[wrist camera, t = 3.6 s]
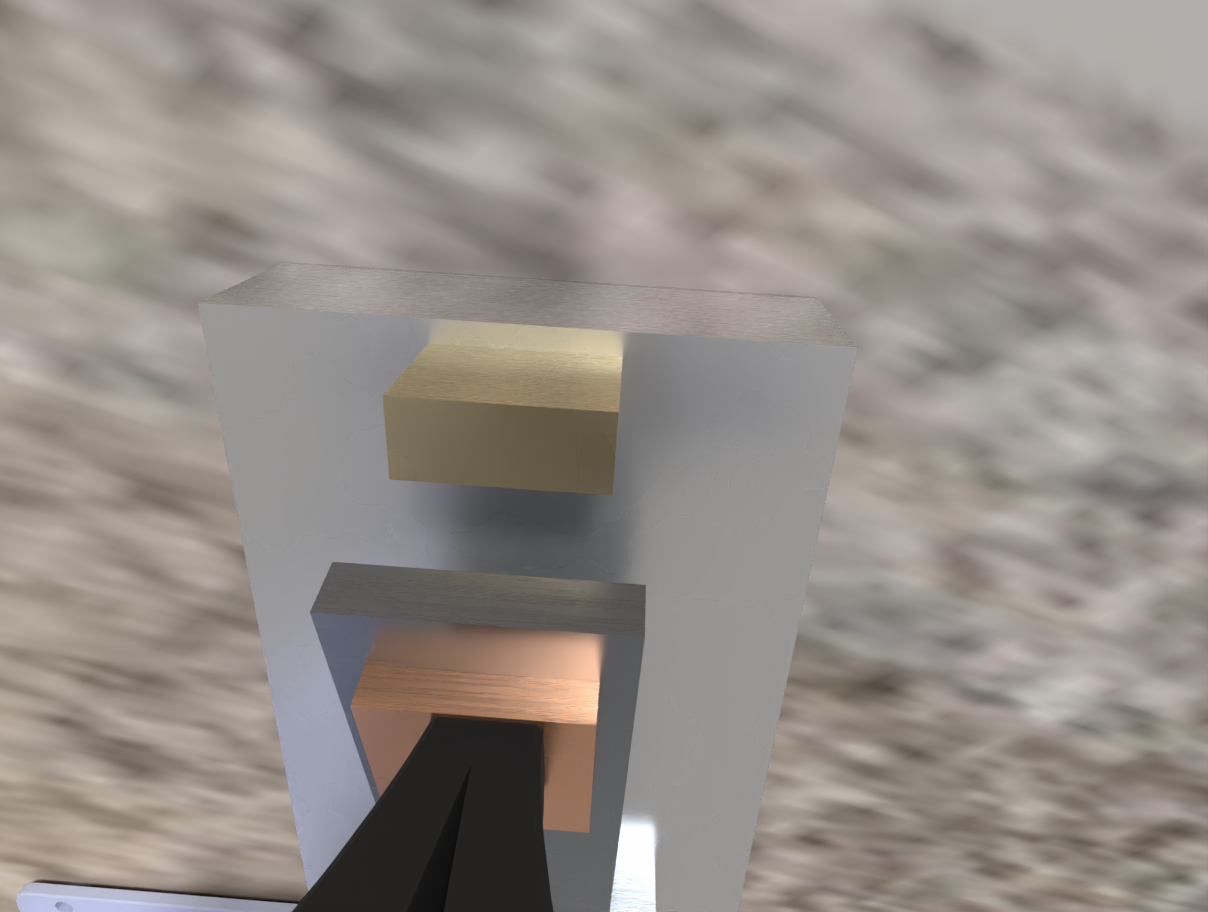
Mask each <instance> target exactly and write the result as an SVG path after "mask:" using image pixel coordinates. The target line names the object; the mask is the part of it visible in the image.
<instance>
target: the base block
mask: <svg viewBox="0 0 1208 912" xmlns="http://www.w3.org/2000/svg"><path fill="white" fill-rule="evenodd" d="M198 306H199V312H200V317H201V322H202V328H203V333H204V338H205V344H206V349H207V354H208V360H209V365H210V370H211V376H212V381H213V386H214V392H215V397H216V402H217V408H218V413H219V418H220V424H221V429H222V434H223V440H224V445H225V450H226V456H227V461H228V466H229V472H230V477H231V482H232V488H233V493H234V499H235V504H236V509H237V515H238V520H239V525H240V531H241V536H242V541H243V547H244V552H245V557H246V563H247V568H248V573H249V579H250V584H251V589H252V595H253V600H254V605H255V611H256V616H257V621H258V627H259V632H260V637H261V643H262V648H263V653H264V659H265V664H266V669H267V675H268V680H269V685H270V691H271V696H272V701H273V707H274V712H275V717H276V723H277V728H278V733H279V739H280V744H281V749H282V755H283V760H284V765H285V771H286V776H287V781H288V787H289V792H290V798H291V803H292V808H293V814H294V819H295V824H296V830H297V835H298V840H299V846H300V851H301V856H302V862H303V867H304V872H305V878H306V883H307V888H308V891H309V890H310V889H311V888H312V887H313V885H314V884H315V883H316V882H317V880H318V879H319V878H320V877H321V875H322V874H323V873H324V872H325V871H326V869H327V868H328V867H329V865H330V864H331V863H332V862H333V860H334V859H335V858H336V856H337V855H338V854H339V852H340V851H341V850H342V848H343V847H344V846H345V844H346V843H347V842H348V840H349V839H350V838H351V836H352V835H353V834H354V832H355V831H356V830H357V828H358V827H359V825H360V824H361V823H362V821H363V820H364V819H365V817H366V816H367V815H368V813H369V812H370V811H371V809H372V808H373V807H374V805H375V801H374V798H373V795H372V792H371V789H370V786H369V783H368V780H367V777H366V774H365V772H364V769H363V766H362V763H361V760H360V757H359V754H358V751H357V748H356V745H355V742H354V740H353V737H352V734H351V731H350V728H349V725H348V722H347V719H346V716H345V713H344V710H343V708H342V705H341V702H340V699H339V696H338V693H337V690H336V687H335V684H334V681H333V679H332V676H331V673H330V670H329V667H328V664H327V661H326V658H325V655H324V652H323V649H322V647H321V644H320V641H319V638H318V635H317V632H316V629H315V626H314V623H313V620H312V617H311V615H310V611H311V608H312V606H313V604H314V602H315V600H316V597H317V595H318V593H319V591H320V588H321V586H322V584H323V582H324V579H325V577H326V575H327V573H328V571H329V568H330V566H331V564H332V562H342V563H356V564H370V565H383V566H397V567H410V568H424V569H438V570H451V571H465V572H478V573H492V574H505V575H519V576H533V577H546V578H560V579H573V580H587V581H601V582H614V583H628V584H641V585H646V608H645V640H644V648H643V656H642V664H641V672H640V679H639V687H638V695H637V703H636V711H635V718H634V726H633V734H632V742H631V750H630V757H629V765H628V773H627V781H626V789H625V796H624V804H623V812H622V820H621V828H620V835H619V843H618V851H617V859H616V867H615V874H614V882H613V890H612V898H611V906H610V912H738V907H739V903H740V898H741V893H742V889H743V884H744V879H745V875H746V870H747V865H748V861H749V856H750V851H751V847H752V842H753V837H754V833H755V828H756V823H757V818H758V814H759V809H760V804H761V800H762V795H763V790H764V786H765V781H766V776H767V772H768V767H769V762H770V758H771V753H772V748H773V744H774V739H775V734H776V729H777V725H778V720H779V715H780V711H781V706H782V701H783V697H784V692H785V687H786V683H787V678H788V673H789V669H790V664H791V659H792V655H793V650H794V645H795V641H796V636H797V631H798V626H799V622H800V617H801V612H802V608H803V603H804V598H805V594H806V589H807V584H808V580H809V575H810V570H811V566H812V561H813V556H814V552H815V547H816V542H817V538H818V533H819V528H820V523H821V519H822V514H823V509H824V505H825V500H826V495H827V491H828V486H829V481H830V477H831V472H832V467H833V463H834V458H835V453H836V449H837V444H838V439H839V435H840V430H841V425H842V420H843V416H844V411H845V406H846V402H847V397H848V392H849V388H850V383H851V378H852V374H853V369H854V364H855V360H856V355H857V350H858V347H857V345H856V344H855V343H854V342H853V341H852V340H851V338H850V337H849V336H848V335H847V334H846V333H845V331H844V330H843V329H842V328H841V327H840V326H839V324H838V323H837V322H836V321H835V320H834V318H833V317H832V316H831V315H830V314H829V313H828V311H827V310H826V309H825V308H824V307H823V306H822V304H821V303H820V302H819V301H818V300H817V298H808V297H792V296H777V295H762V294H747V293H732V292H717V291H702V290H687V289H672V288H656V287H641V286H626V285H611V284H596V283H581V282H566V281H551V280H536V279H521V278H505V277H490V276H475V275H460V274H445V273H430V272H415V271H400V270H385V269H369V268H354V267H339V266H324V265H309V264H294V263H282V264H280V265H278V266H276V267H274V268H272V269H269V270H267V271H265V272H263V273H261V274H259V275H257V276H254V277H252V278H250V279H248V280H246V281H244V282H242V283H239V284H237V285H235V286H233V287H231V288H229V289H227V290H224V291H222V292H220V293H218V294H216V295H214V296H212V297H209V298H207V299H205V300H203V301H201V302H199V303H198Z"/></svg>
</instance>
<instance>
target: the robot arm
mask: <svg viewBox="0 0 1208 912" xmlns="http://www.w3.org/2000/svg"><path fill="white" fill-rule="evenodd" d="M544 776H545V760H544V730H543V729H541V728H540V727H539V726H537V725H536V724H525V723H511V722H497V721H485V720H472V719H460V718H448V717H437V718H435V719H433V720H432V721H430V723H429V724H428V726H427V728H426V729H425V731H424V733H423V734H422V736H421V737H420V739H419V740H418V742H417V744H416V745H415V747H414V748H413V750H412V751H411V753H410V754H409V756H408V758H407V759H406V761H405V762H404V764H403V765H402V766H401V768H400V769H399V771H398V772H397V774H396V775H395V777H394V778H393V780H392V781H391V783H390V784H389V785H388V787H387V788H386V790H385V791H384V793H383V794H382V795H381V797H380V798H379V800H378V801H377V803H376V804H375V805H374V807H373V808H372V809H371V811H370V812H369V813H368V815H367V816H366V817H365V819H364V820H363V821H362V823H361V824H360V825H359V827H358V828H357V830H356V831H355V832H354V834H353V835H352V836H351V838H350V839H349V840H348V842H347V843H346V844H345V846H344V847H343V848H342V850H341V851H340V852H339V854H338V855H337V856H336V858H335V859H334V860H333V862H332V863H331V864H330V865H329V867H328V868H327V869H326V871H325V872H324V873H323V874H322V875H321V877H320V878H319V879H318V880H317V882H316V883H315V884H314V885H313V887H312V888H311V889H310V890H309V891H308V893H307V894H306V895H305V896H304V897H303V899H302V900H301V901H300V902H299V904H294V903H282V902H269V901H257V900H245V899H233V898H221V897H209V896H196V895H184V894H172V893H160V892H148V891H136V890H124V889H111V888H99V887H87V886H75V885H63V884H51V883H38V882H35V883H29V884H26V885H25V886H24V887H23V888H22V890H21V891H20V892H19V894H18V895H17V896H16V903H17V906H18V908H19V910H20V912H554V911H553V905H552V898H551V891H550V883H549V875H548V866H547V858H546V850H545V842H544V831H543V816H544Z"/></svg>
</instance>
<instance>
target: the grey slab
mask: <svg viewBox="0 0 1208 912" xmlns="http://www.w3.org/2000/svg"><path fill="white" fill-rule="evenodd" d="M645 608H646V585H641V584H628V583H614V582H601V581H587V580H573V579H560V578H546V577H533V576H519V575H505V574H492V573H478V572H465V571H451V570H438V569H424V568H410V567H397V566H383V565H370V564H356V563H342V562H332V564H331V566H330V568H329V571H328V573H327V575H326V577H325V579H324V582H323V584H322V586H321V588H320V591H319V593H318V595H317V597H316V600H315V602H314V604H313V606H312V608H311V611H310V615H311V617H312V620H313V623H314V626H315V629H316V632H317V635H318V638H319V641H320V644H321V647H322V649H323V652H324V655H325V658H326V661H327V664H328V667H329V670H330V673H331V676H332V679H333V681H334V684H335V687H336V690H337V693H338V696H339V699H340V702H341V705H342V708H343V710H344V713H345V716H346V719H347V722H348V725H349V728H350V731H351V734H352V737H353V740H354V742H355V745H356V748H357V751H358V754H359V757H360V760H361V763H362V766H363V769H364V772H365V774H366V777H367V780H368V783H369V786H370V789H371V792H372V795H373V798H374V801H375V804H376V803H377V801H378V800H379V798H380V797H381V795H382V794H383V793H384V791H385V790H386V788H387V787H388V785H389V784H390V783H391V781H392V780H393V778H394V777H395V775H396V774H397V772H398V771H399V769H400V768H401V766H402V765H403V764H404V762H405V761H406V759H407V758H408V756H409V754H410V753H411V751H412V750H413V748H414V747H415V745H416V744H417V742H418V740H419V739H420V737H421V736H422V734H423V733H424V731H425V729H426V728H427V726H428V724H429V723H430V721H432V720H433V719H435V718H437V717H448V718H460V719H472V720H485V721H497V722H511V723H525V724H536V725H537V726H539V727H540V728H541V729H543V730H544V760H545V776H544V816H543V831H544V842H545V850H546V858H547V866H548V875H549V883H550V891H551V898H552V905H553V911H554V912H610V906H611V898H612V890H613V882H614V874H615V867H616V859H617V851H618V843H619V835H620V828H621V820H622V812H623V804H624V796H625V789H626V781H627V773H628V765H629V757H630V750H631V742H632V734H633V726H634V718H635V711H636V703H637V695H638V687H639V679H640V672H641V664H642V656H643V648H644V640H645Z"/></svg>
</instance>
